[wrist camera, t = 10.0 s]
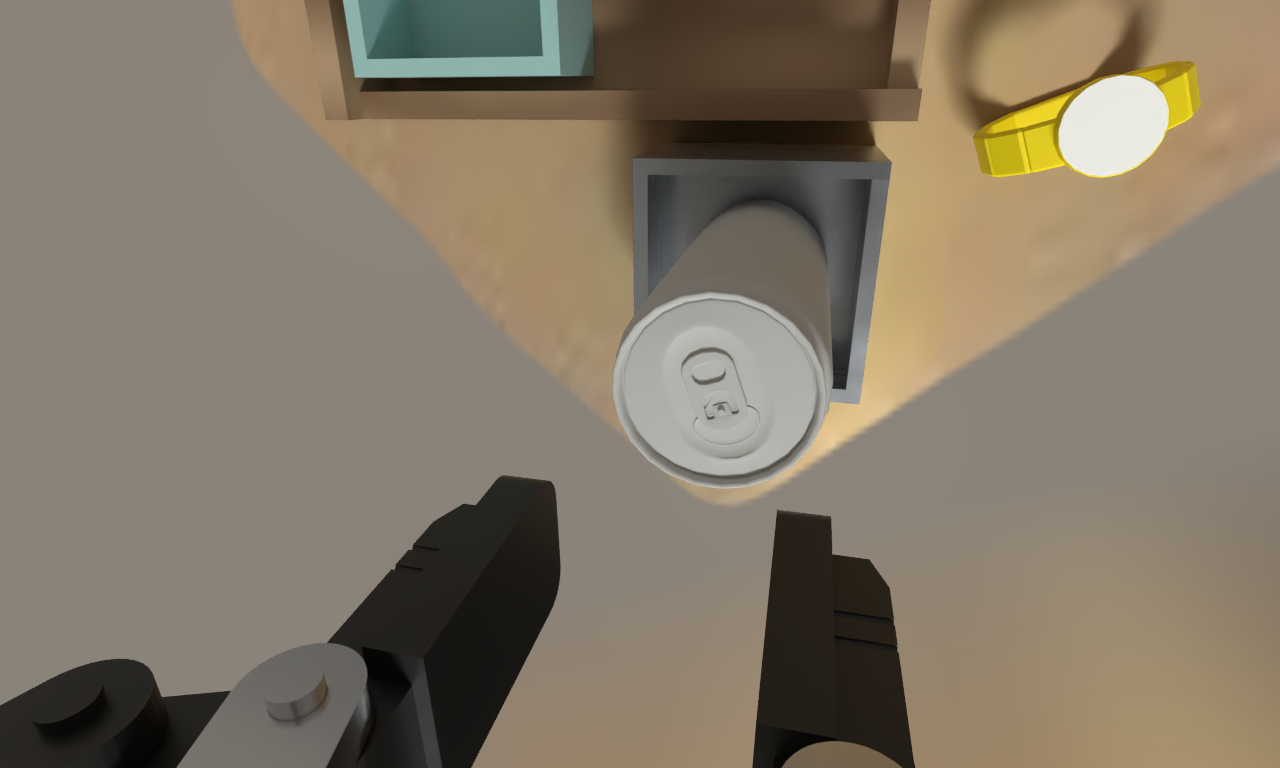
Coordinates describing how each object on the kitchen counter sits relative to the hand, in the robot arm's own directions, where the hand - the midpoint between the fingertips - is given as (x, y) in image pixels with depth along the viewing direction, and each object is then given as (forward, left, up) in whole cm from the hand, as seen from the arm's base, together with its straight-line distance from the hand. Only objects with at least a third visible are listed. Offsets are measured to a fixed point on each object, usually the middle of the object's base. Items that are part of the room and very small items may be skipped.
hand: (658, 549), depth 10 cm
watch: (-5, +10, -21) cm, 24 cm away
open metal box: (0, 0, -21) cm, 21 cm away
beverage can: (0, 0, -17) cm, 17 cm away
